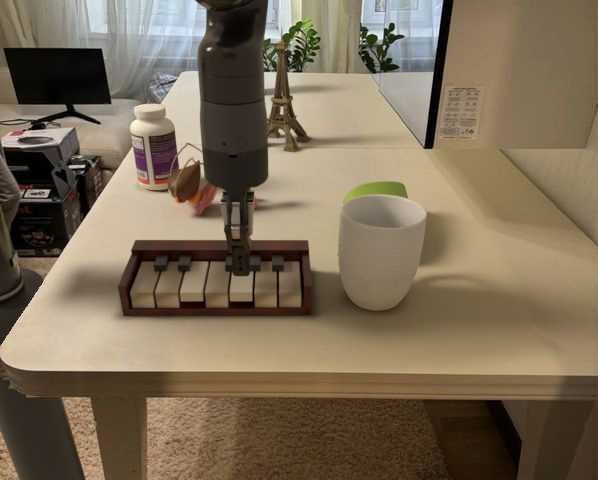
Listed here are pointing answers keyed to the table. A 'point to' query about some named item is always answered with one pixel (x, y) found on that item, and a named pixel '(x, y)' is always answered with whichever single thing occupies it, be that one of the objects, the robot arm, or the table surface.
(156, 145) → the pill bottle
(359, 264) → the mug
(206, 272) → the key
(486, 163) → the table surface
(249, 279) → the key
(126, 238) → the table surface
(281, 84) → the eiffel tower
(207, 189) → the anatomy model
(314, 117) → the table surface
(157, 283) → the piano
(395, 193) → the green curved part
